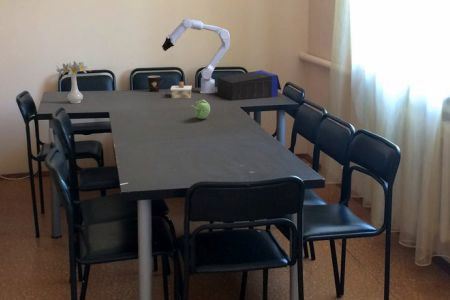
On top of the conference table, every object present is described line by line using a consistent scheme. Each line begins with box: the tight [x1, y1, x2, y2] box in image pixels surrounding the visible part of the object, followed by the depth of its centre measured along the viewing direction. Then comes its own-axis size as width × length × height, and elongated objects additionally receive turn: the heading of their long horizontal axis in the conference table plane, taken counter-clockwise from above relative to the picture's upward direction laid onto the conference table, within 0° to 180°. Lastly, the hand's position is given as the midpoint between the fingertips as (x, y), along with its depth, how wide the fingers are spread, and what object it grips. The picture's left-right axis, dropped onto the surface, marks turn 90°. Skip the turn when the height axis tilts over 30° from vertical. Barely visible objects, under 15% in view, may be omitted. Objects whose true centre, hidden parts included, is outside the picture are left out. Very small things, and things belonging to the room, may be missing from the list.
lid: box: [170, 81, 193, 92], centre depth 372 cm, size 13×13×4 cm
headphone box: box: [216, 69, 282, 102], centre depth 375 cm, size 25×35×14 cm
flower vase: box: [55, 61, 88, 104], centre depth 352 cm, size 13×18×25 cm
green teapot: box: [190, 99, 211, 120], centre depth 308 cm, size 12×11×11 cm
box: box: [171, 89, 192, 99], centre depth 373 cm, size 12×12×5 cm
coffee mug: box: [147, 75, 167, 93], centre depth 390 cm, size 12×9×10 cm
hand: (163, 49), depth 376 cm, fingers open, 7 cm apart
